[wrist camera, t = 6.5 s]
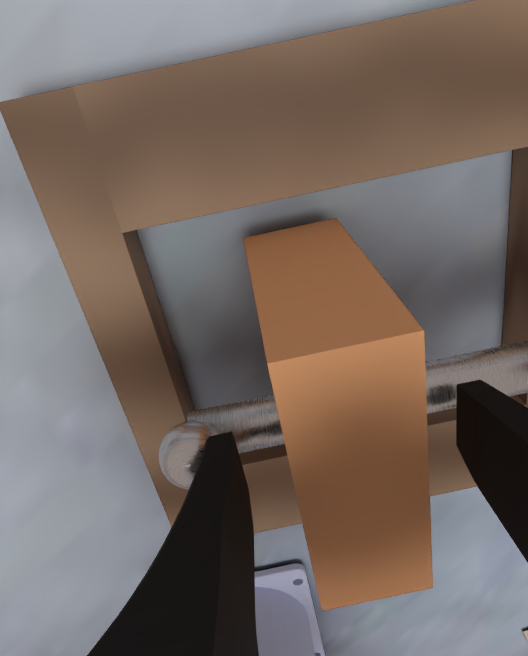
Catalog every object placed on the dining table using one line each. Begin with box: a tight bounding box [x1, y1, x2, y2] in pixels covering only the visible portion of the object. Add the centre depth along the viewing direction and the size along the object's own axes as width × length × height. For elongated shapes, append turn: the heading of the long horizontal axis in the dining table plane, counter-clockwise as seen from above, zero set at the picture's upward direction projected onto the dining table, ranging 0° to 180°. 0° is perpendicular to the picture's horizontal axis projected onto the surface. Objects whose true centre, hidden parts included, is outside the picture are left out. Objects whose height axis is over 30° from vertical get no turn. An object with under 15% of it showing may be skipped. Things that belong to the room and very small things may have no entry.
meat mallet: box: [159, 340, 528, 490], centre depth 15 cm, size 4×17×8 cm, turn 101°
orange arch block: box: [243, 218, 433, 611], centre depth 15 cm, size 8×3×7 cm, turn 11°
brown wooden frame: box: [0, 0, 528, 533], centre depth 18 cm, size 18×22×2 cm
